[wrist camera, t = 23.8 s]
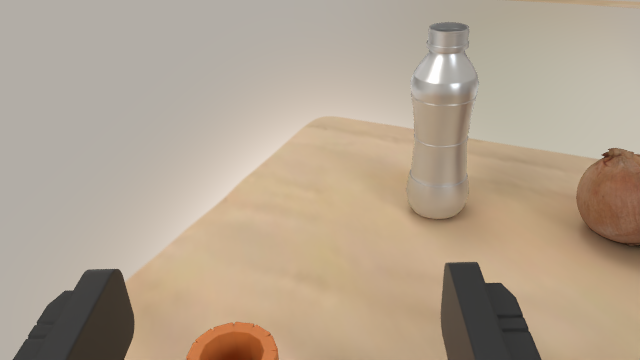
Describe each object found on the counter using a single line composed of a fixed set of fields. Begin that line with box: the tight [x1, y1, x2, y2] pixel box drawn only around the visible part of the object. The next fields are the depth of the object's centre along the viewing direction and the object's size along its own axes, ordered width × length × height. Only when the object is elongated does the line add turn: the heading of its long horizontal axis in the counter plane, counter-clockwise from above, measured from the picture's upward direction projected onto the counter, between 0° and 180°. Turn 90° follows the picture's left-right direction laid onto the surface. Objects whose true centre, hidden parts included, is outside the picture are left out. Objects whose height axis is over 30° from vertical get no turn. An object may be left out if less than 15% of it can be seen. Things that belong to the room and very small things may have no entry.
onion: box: [576, 148, 640, 246], centre depth 54 cm, size 10×9×10 cm
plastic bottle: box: [406, 22, 479, 219], centre depth 57 cm, size 6×7×20 cm
